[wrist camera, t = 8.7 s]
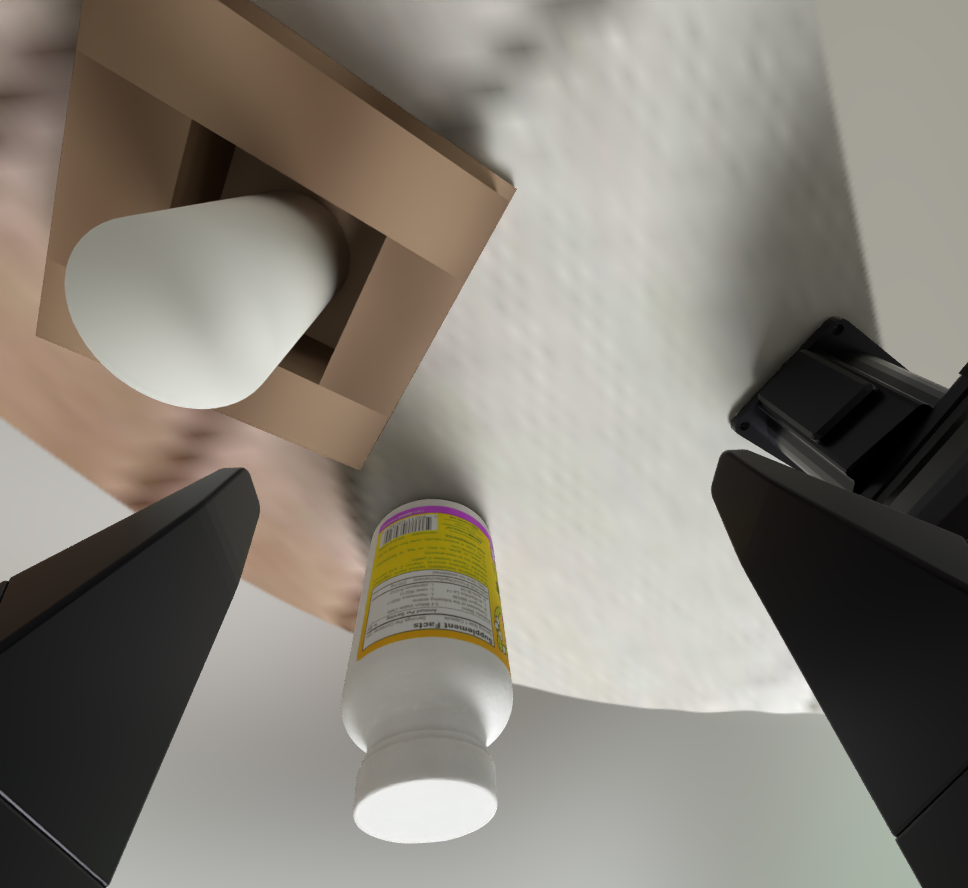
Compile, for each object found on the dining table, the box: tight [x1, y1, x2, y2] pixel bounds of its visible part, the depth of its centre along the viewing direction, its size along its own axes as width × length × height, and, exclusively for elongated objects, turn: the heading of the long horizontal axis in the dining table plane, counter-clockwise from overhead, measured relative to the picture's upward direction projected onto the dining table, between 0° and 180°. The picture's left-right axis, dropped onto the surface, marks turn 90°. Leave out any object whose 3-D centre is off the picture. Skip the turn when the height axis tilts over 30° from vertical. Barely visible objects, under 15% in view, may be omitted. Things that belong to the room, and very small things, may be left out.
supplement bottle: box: [341, 499, 513, 843], centre depth 20 cm, size 7×7×13 cm
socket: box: [36, 0, 517, 471], centre depth 16 cm, size 12×12×4 cm
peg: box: [65, 190, 350, 409], centre depth 13 cm, size 4×4×9 cm
